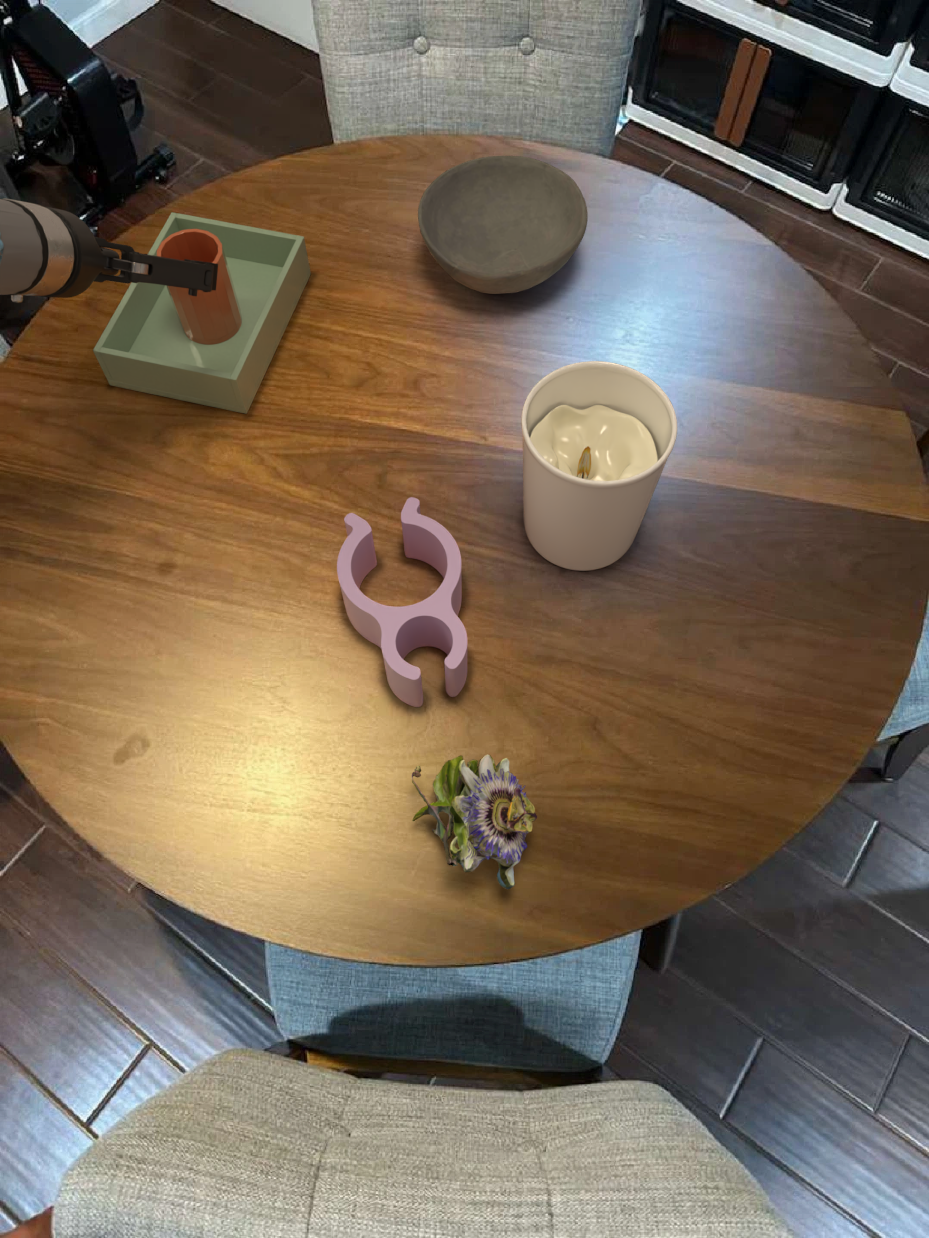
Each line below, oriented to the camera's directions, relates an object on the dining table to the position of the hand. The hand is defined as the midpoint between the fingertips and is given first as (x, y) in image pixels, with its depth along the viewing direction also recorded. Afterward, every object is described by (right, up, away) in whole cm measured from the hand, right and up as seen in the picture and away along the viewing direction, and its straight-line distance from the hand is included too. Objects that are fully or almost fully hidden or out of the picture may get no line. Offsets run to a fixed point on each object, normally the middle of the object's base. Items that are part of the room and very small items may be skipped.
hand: (154, 265), depth 104 cm
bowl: (+38, +8, +22) cm, 45 cm away
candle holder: (+46, -28, +3) cm, 54 cm away
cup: (+2, -1, +16) cm, 16 cm away
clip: (+28, -38, -2) cm, 47 cm away
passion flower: (+34, -58, -12) cm, 68 cm away
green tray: (+2, -2, +16) cm, 17 cm away
